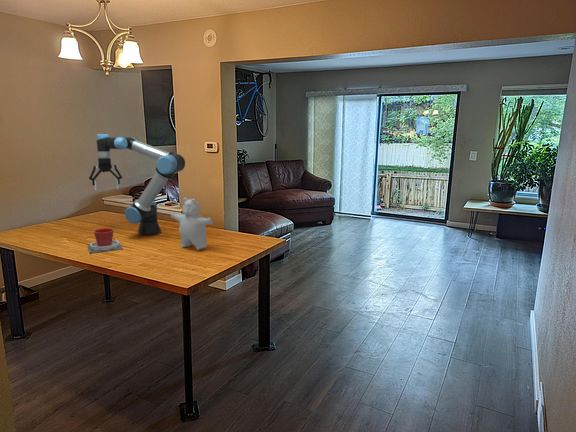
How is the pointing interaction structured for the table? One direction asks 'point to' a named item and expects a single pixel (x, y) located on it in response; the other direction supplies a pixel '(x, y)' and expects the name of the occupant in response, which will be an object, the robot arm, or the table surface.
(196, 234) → the bear
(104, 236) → the flower pot
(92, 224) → the table surface
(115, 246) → the grey octagonal tray
